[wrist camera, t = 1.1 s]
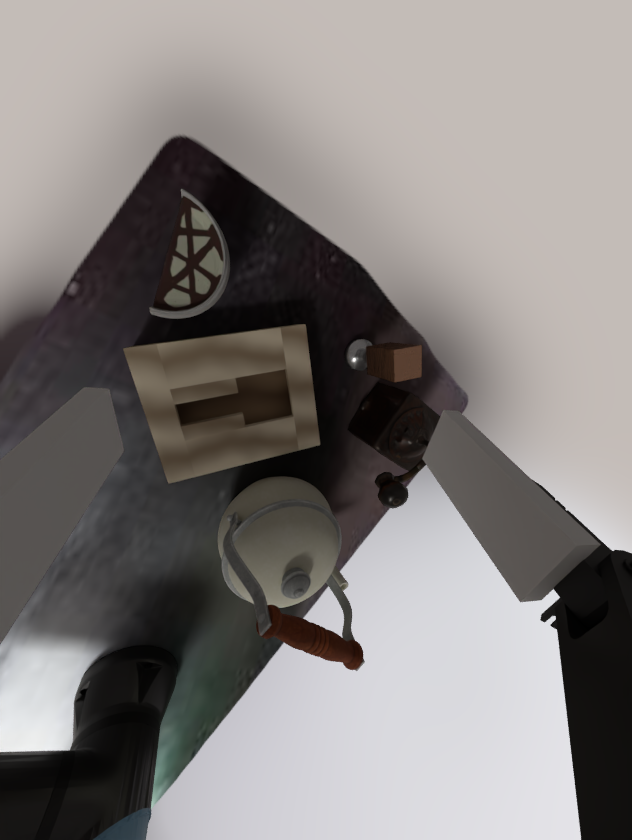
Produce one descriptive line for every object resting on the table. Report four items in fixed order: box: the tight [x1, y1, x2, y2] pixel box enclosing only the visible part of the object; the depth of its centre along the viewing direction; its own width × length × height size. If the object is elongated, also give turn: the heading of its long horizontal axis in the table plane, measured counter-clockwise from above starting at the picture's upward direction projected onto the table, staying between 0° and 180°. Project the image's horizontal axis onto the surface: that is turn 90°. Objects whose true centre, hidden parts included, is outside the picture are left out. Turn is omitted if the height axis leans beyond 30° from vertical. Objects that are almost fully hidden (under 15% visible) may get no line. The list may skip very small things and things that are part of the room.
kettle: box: [218, 476, 364, 671], centre depth 41 cm, size 25×18×25 cm
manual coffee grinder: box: [348, 382, 440, 508], centre depth 46 cm, size 16×11×18 cm
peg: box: [344, 339, 422, 382], centre depth 42 cm, size 5×5×14 cm
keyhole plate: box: [123, 324, 320, 484], centre depth 42 cm, size 18×22×5 cm
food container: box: [149, 189, 230, 319], centre depth 34 cm, size 12×6×10 cm, turn 158°
